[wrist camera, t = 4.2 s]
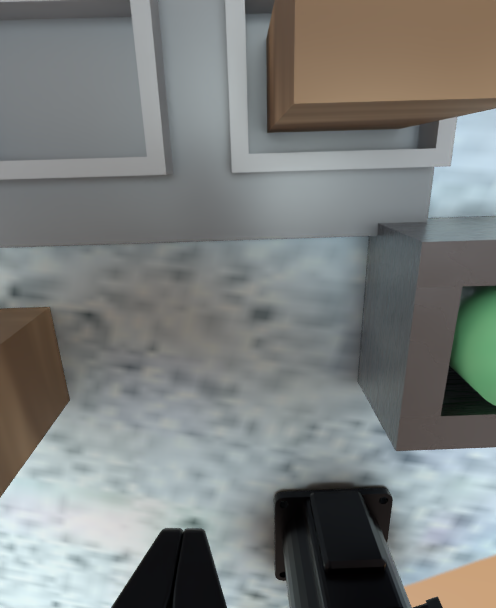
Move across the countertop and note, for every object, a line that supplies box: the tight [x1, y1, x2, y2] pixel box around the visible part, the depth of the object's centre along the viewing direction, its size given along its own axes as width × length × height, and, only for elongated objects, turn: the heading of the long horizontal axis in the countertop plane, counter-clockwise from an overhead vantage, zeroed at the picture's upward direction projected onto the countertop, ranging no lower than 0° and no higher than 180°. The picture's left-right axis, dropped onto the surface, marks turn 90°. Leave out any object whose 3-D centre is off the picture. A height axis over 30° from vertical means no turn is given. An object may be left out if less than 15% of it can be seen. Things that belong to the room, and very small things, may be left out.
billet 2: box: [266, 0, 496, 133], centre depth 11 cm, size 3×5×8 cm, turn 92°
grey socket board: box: [0, 0, 457, 248], centre depth 14 cm, size 11×18×2 cm, turn 92°
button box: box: [358, 216, 496, 451], centre depth 16 cm, size 8×8×5 cm
